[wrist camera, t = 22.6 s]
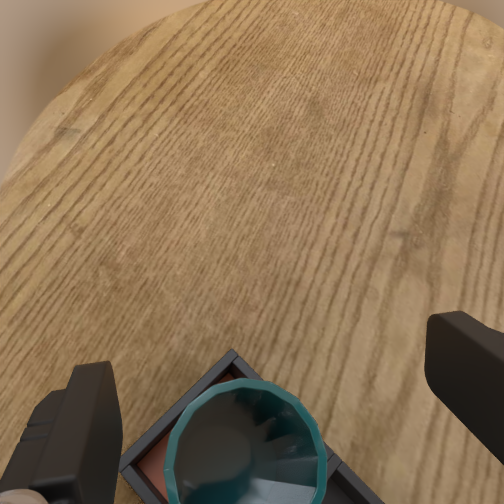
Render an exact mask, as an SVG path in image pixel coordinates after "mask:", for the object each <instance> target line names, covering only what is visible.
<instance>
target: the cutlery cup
mask: <svg viewBox="0 0 504 504" xmlns="http://www.w3.org/2000/svg"><path fill="white" fill-rule="evenodd" d="M163 474H164V480H165V486H166V491H167V497H168V503H169V504H321V503H322V501H323V498H324V496H325V493H326V486H327V452H326V449H325V446H324V443H323V440H322V437H321V434H320V430H319V427H318V424H317V422H316V421H315V420H314V418H313V417H312V416H311V414H310V413H309V412H308V411H307V409H306V408H305V407H304V405H303V404H302V403H301V402H300V400H299V399H298V398H297V397H296V396H294V395H292V394H291V393H289V392H287V391H286V390H284V389H282V388H281V387H279V386H277V385H276V384H274V383H272V382H269V381H262V380H255V379H248V378H238V379H235V380H231V381H227V382H223V383H220V384H216V385H213V386H211V387H210V388H208V389H207V390H206V391H205V392H203V393H202V394H201V395H199V396H198V397H197V398H195V399H194V400H193V401H192V402H190V403H189V404H188V405H187V406H186V408H185V409H184V411H183V413H182V414H181V416H180V418H179V419H178V421H177V423H176V424H175V426H174V428H173V429H172V431H171V432H170V435H169V439H168V445H167V450H166V455H165V461H164V466H163Z"/></svg>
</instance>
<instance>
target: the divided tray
mask: <svg viewBox="0 0 504 504" xmlns="http://www.w3.org/2000/svg"><path fill="white" fill-rule="evenodd" d="M238 378H248V379H255V380H262V381H264V380H263V379H262V378H261V377H260V376H259V375H258V374H257V373H256V372H255V371H254V370H253V369H252V368H251V367H250V366H249V365H248V364H247V363H246V362H245V361H244V360H243V359H242V358H241V357H240V356H238V354H237V353H236V352H235V351H234V350H233V349H231V350H230V351H228V352H227V353H226V354H225V355H224V356H223V357H222V358H221V359H220V360H219V361H218V362H217V363H216V364H215V365H214V366H213V367H212V368H211V369H210V370H209V371H208V372H207V373H206V374H205V375H204V376H203V377H202V378H201V379H200V380H199V381H198V382H197V383H196V384H195V385H194V386H193V387H192V388H191V389H190V390H189V391H187V392H186V393H185V394H184V395H183V396H182V397H181V398H180V399H179V400H178V401H177V402H176V403H175V404H174V405H173V406H172V407H171V408H170V409H169V410H168V411H167V412H166V413H165V414H164V415H163V416H162V417H161V418H160V419H159V420H158V421H157V422H156V423H155V424H154V425H153V426H152V427H151V428H150V429H149V430H147V431H146V432H145V433H144V434H143V435H142V436H141V437H140V438H139V439H138V440H137V441H136V442H135V443H134V444H133V445H132V446H131V447H130V448H129V449H128V450H127V451H126V452H125V453H124V454H123V455H122V456H121V457H120V463H119V470H118V471H119V472H120V473H121V475H122V476H123V477H124V479H125V480H126V481H127V482H128V483H129V485H130V486H131V487H132V488H133V489H134V491H135V492H136V493H137V494H138V496H139V497H140V498H141V499H142V500H143V502H144V503H145V504H169V503H168V497H167V491H166V486H165V480H164V474H163V466H164V461H165V455H166V450H167V445H168V439H169V435H170V432H171V431H172V429H173V428H174V426H175V424H176V423H177V421H178V419H179V418H180V416H181V414H182V413H183V411H184V409H185V408H186V406H187V405H188V404H189V403H190V402H192V401H193V400H194V399H195V398H197V397H198V396H199V395H201V394H202V393H203V392H205V391H206V390H207V389H208V388H210V387H211V386H213V385H216V384H220V383H223V382H227V381H231V380H235V379H238ZM323 443H324V446H325V449H326V452H327V486H326V493H325V496H324V498H323V501H322V503H321V504H385V503H384V502H383V501H382V500H381V499H380V498H379V497H378V496H377V495H376V494H375V493H374V492H373V491H372V490H371V489H370V488H369V487H368V486H367V485H366V484H365V483H364V482H363V481H362V480H361V479H360V478H359V477H358V476H357V475H356V474H355V473H354V472H353V471H352V470H351V469H350V468H349V467H348V466H347V465H346V464H345V463H344V462H343V461H342V460H341V459H340V458H339V457H338V456H337V454H335V453H334V451H333V450H332V449H331V448H330V447H329V446H328V445H327V444H326V443H325V442H324V441H323Z"/></svg>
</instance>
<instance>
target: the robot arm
mask: <svg viewBox="0 0 504 504" xmlns="http://www.w3.org/2000/svg"><path fill="white" fill-rule="evenodd" d="M424 370H425V377H426V380H427V383H428V385H429V387H430V389H431V390H432V392H433V393H434V394H435V395H436V396H437V397H438V398H439V399H440V400H441V401H442V402H443V403H444V404H445V405H446V406H447V407H448V408H449V410H450V411H451V412H452V413H453V414H454V415H455V416H456V417H457V418H458V419H459V420H460V421H461V422H462V423H463V424H464V425H465V426H466V427H467V428H468V429H469V430H470V431H471V432H472V433H473V434H474V435H475V436H476V437H477V438H478V439H479V440H480V441H481V442H482V443H483V444H484V446H485V447H486V448H487V449H488V450H489V451H490V452H491V453H492V454H493V455H494V456H495V457H496V458H497V459H498V460H499V461H500V462H501V463H502V464H503V465H504V333H502V332H499V331H496V330H494V329H491V328H488V327H487V326H485V325H484V324H482V323H481V322H479V321H477V320H476V319H474V318H473V317H471V316H470V315H468V314H467V313H465V312H463V311H453V312H446V313H439V314H433V315H431V316H430V317H429V319H428V322H427V332H426V349H425V365H424ZM122 441H123V430H122V419H121V413H120V407H119V402H118V396H117V391H116V385H115V379H114V374H113V369H112V365H111V363H110V361H103V362H96V363H89V364H82V365H76V366H75V367H74V370H73V372H72V375H71V377H70V380H69V382H68V385H67V387H66V389H62V390H56V391H51V392H50V393H49V394H48V395H47V396H46V397H45V398H44V399H43V400H42V401H41V402H40V403H39V404H38V405H37V406H36V407H35V408H34V410H33V413H32V415H31V417H30V419H29V421H28V423H27V428H25V429H24V431H23V433H22V436H21V438H20V442H19V443H18V444H17V446H16V448H15V450H14V452H13V454H12V457H11V459H10V461H9V463H8V465H7V467H6V469H5V471H4V473H3V475H2V478H1V480H0V504H113V503H114V497H115V490H116V483H117V477H118V470H119V463H120V457H121V450H122Z"/></svg>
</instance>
